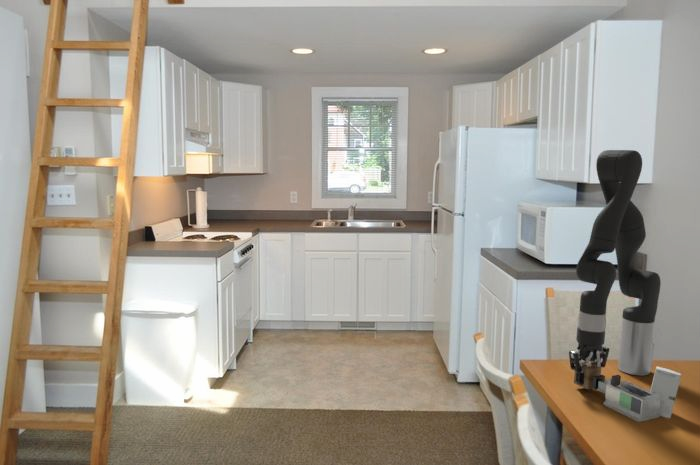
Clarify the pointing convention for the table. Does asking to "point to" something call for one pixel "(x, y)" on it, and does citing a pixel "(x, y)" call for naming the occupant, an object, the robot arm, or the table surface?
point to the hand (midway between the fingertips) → (586, 382)
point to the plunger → (602, 383)
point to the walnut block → (589, 375)
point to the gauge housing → (633, 401)
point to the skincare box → (665, 389)
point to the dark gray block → (615, 380)
